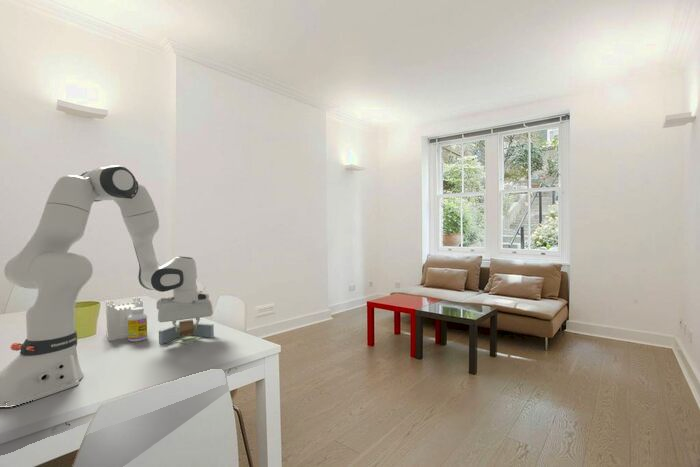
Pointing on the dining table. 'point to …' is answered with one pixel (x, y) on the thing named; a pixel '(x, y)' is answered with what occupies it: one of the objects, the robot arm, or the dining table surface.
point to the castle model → (119, 318)
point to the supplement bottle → (137, 325)
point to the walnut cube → (186, 327)
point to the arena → (171, 334)
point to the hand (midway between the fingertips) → (186, 329)
